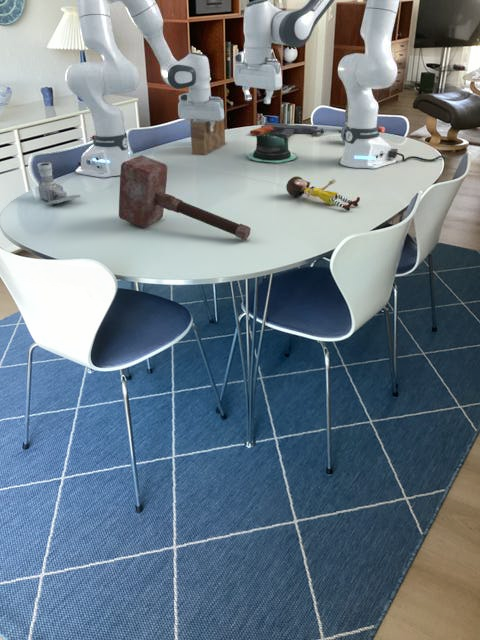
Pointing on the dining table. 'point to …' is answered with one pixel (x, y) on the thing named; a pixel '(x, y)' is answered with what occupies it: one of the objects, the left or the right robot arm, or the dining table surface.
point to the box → (206, 136)
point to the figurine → (317, 192)
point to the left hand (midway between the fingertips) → (202, 130)
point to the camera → (51, 186)
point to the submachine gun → (286, 129)
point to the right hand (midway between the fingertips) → (257, 102)
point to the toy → (343, 132)
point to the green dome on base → (272, 148)
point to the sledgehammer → (160, 198)
